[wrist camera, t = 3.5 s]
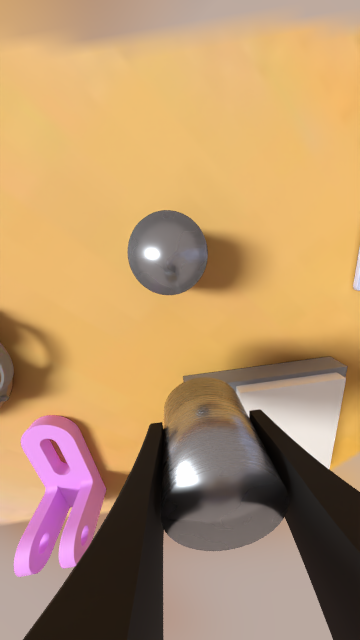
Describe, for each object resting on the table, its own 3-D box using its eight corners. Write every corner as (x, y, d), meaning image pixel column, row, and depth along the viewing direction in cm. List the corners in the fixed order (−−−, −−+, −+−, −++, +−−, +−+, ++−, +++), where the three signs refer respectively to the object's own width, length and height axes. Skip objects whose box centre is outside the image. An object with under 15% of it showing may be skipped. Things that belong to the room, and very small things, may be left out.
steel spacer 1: (193, 224, 15) (206, 207, 10) (196, 283, 17) (208, 291, 12) (135, 228, 15) (121, 213, 10) (143, 287, 16) (134, 298, 12)
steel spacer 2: (239, 372, 11) (294, 457, 6) (240, 433, 12) (284, 540, 8) (158, 382, 11) (151, 478, 6) (169, 443, 12) (169, 558, 7)
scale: (330, 356, 20) (402, 398, 14) (314, 462, 24) (362, 528, 18) (183, 376, 19) (189, 428, 13) (196, 479, 24) (205, 552, 18)
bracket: (106, 488, 24) (82, 574, 17) (64, 495, 24) (24, 585, 17) (72, 410, 20) (23, 483, 13) (22, 419, 20) (-51, 496, 13)
